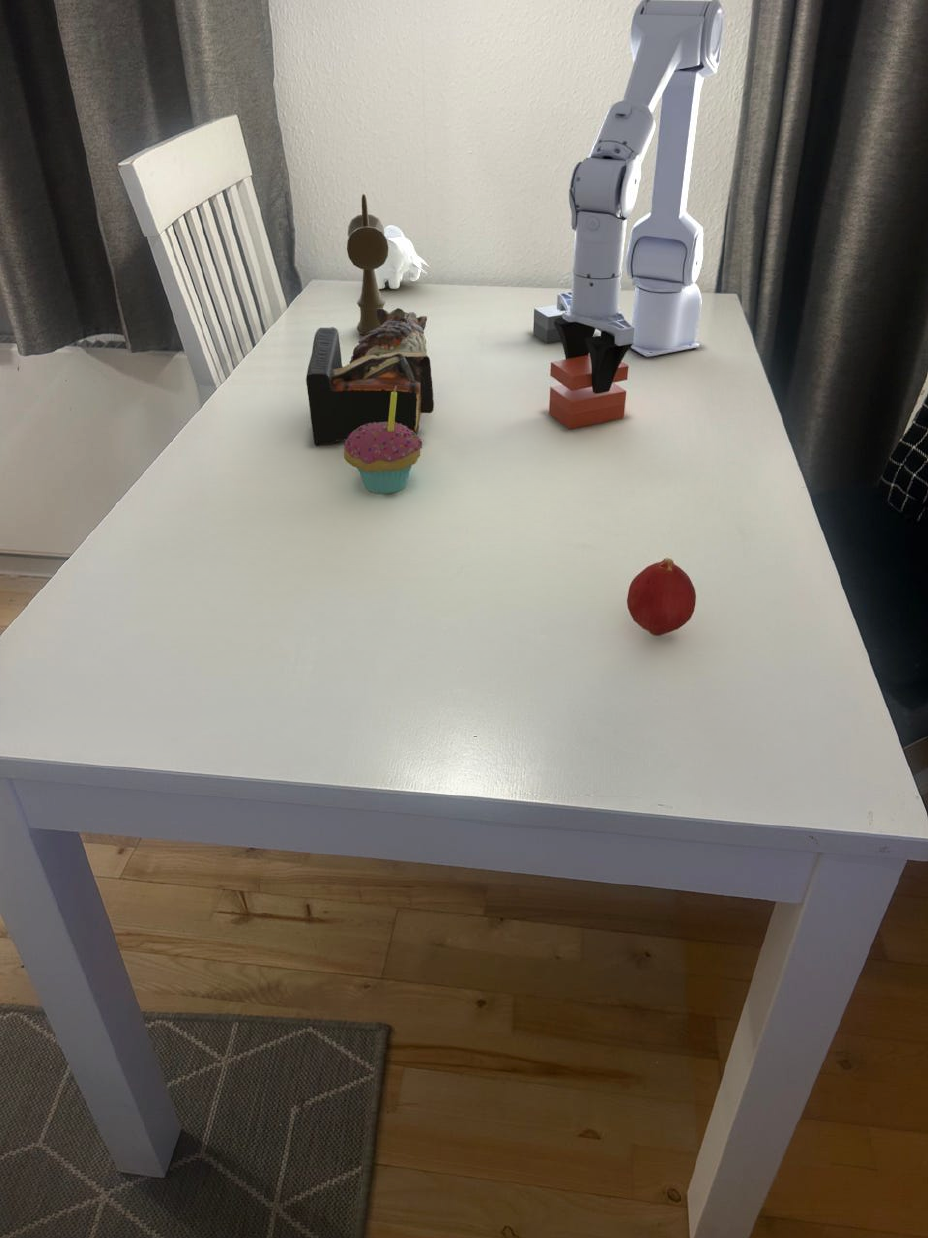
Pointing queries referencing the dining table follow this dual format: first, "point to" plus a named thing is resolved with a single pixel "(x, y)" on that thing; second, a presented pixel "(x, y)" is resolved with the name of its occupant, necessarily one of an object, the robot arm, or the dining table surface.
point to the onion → (661, 598)
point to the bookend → (370, 377)
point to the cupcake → (383, 452)
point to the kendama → (367, 263)
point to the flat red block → (580, 372)
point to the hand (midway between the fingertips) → (588, 382)
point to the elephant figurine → (398, 260)
